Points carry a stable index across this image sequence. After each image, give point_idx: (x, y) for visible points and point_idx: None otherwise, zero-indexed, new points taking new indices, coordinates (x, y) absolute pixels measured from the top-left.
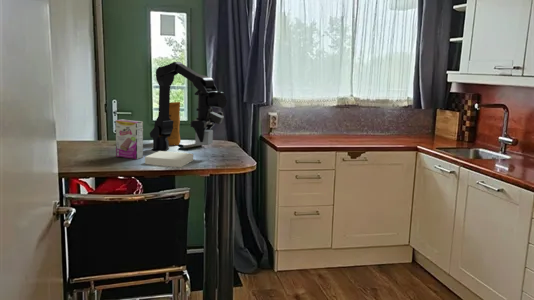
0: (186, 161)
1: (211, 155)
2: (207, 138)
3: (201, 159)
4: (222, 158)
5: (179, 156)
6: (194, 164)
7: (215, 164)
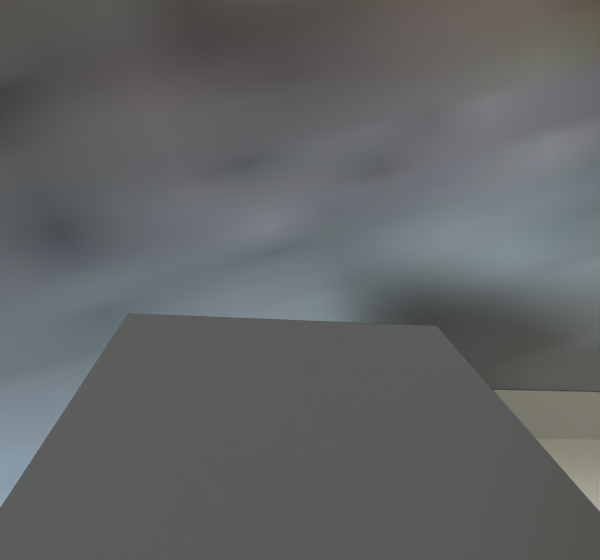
0: (587, 408)
1: (15, 282)
2: (514, 446)
3: None
4: (139, 77)
5: None
6: (569, 320)
7: (547, 87)
